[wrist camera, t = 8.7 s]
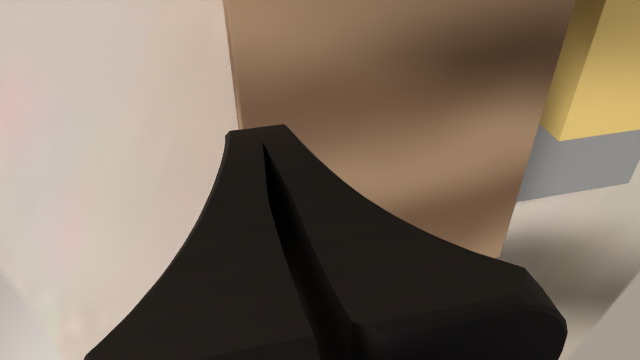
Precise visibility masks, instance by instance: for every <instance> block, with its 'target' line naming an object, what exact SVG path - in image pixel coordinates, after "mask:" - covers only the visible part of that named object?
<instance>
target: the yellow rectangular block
mask: <svg viewBox="0 0 640 360" xmlns="http://www.w3.org/2000/svg"><path fill="white" fill-rule="evenodd" d="M539 124H540V125H541V126H543V127H544V128H545V129H546V130H547V131H548V132H549V133H550V134H551V135H553V136H554V137H555V138H556V139H557V140H558V141H564V140H571V139H578V138H585V137H591V136H598V135H605V134H612V133H619V132H625V131H632V130H639V129H640V0H576V2H575V5H574V8H573V12H572V15H571V19H570V22H569V25H568V29H567V32H566V35H565V39H564V42H563V45H562V49H561V52H560V55H559V59H558V62H557V66H556V69H555V72H554V76H553V79H552V82H551V86H550V89H549V92H548V96H547V99H546V102H545V106H544V109H543V113H542V116H541V119H540V123H539Z"/></svg>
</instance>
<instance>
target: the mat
mask: <svg viewBox="0 0 640 360" xmlns="http://www.w3.org/2000/svg"><path fill="white" fill-rule="evenodd" d="M639 159H640V129H639V130H632V131H625V132H619V133H612V134H605V135H598V136H591V137H585V138H578V139H571V140H564V141H558V140H557V139H556V138H555V137H554V136H553V135H551V134H550V133H549V132H548V131H547V130H546V129H545V128H544V127H543V126H541V125H540V124H539V126H538V129H537V133H536V136H535V139H534V143H533V146H532V149H531V153H530V156H529V160H528V163H527V166H526V170H525V173H524V176H523V180H522V183H521V186H520V190H519V193H518V197H517V200H516V202H519V201H525V200H531V199H537V198H543V197H549V196H554V195H560V194H566V193H572V192H578V191H584V190H590V189H596V188H602V187H608V186H614V185H620V184H626V183H629V181H630V179H631V176H632V174H633V172H634V170H635V168H636V166H637V163H638V161H639Z"/></svg>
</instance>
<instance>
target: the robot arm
mask: <svg viewBox="0 0 640 360" xmlns="http://www.w3.org/2000/svg"><path fill="white" fill-rule="evenodd" d="M567 333H568V331H567V325H566V320H565V319H564V317H563V316H562V315H561V313H560V312H559V311H558V309H557V308H556V307H555V305H554V304H553V303H552V301H551V300H550V298H549V297H548V295H547V294H546V293H545V291H544V290H543V289H542V287H541V286H540V285H539V284H538V283H537V282H536V281H535V279H534V278H533V277H532V276H531V275H530V274H529V273H528V271H527V270H526V269H525V268H523V267H520V266H517V265H514V264H510V263H507V262H504V261H501V260H498V259H495V258H492V257H489V256H486V255H482V254H479V253H476V252H473V251H471V250H468V249H466V248H463V247H461V246H458V245H456V244H453V243H451V242H448V241H446V240H443V239H441V238H439V237H437V236H434V235H432V234H430V233H428V232H425V231H423V230H421V229H419V228H418V227H416V226H414V225H412V224H410V223H408V222H406V221H404V220H402V219H400V218H398V217H396V216H395V215H393V214H391V213H389V212H388V211H386V210H384V209H383V208H381V207H380V206H378V205H377V204H375V203H373V202H372V201H370V200H369V199H367V198H366V197H364V196H363V195H361V194H360V193H359V192H357V191H356V190H355V189H353V188H352V187H351V186H349V185H348V184H347V183H346V182H344V181H343V180H342V179H341V178H340V177H338V176H337V175H336V174H335V173H334V172H332V171H331V170H330V169H329V168H328V167H327V166H326V165H325V164H324V163H323V162H321V161H320V160H319V159H318V158H317V157H316V156H315V155H314V154H313V153H312V152H311V151H310V150H309V149H308V148H307V147H306V146H305V145H304V144H303V143H302V142H301V141H300V140H299V139H298V138H297V136H296V135H295V134H294V133H293V132H292V131H291V130H290V129H289V128H288V127H287V126H286V125H285V124H280V125H272V126H265V127H257V128H249V129H241V130H233V131H229V132H228V134H227V135H226V136H225V148H224V153H223V157H222V161H221V165H220V168H219V171H218V174H217V177H216V180H215V182H214V185H213V188H212V190H211V192H210V195H209V197H208V199H207V201H206V204H205V206H204V208H203V210H202V212H201V214H200V216H199V218H198V220H197V222H196V224H195V226H194V227H193V229H192V231H191V233H190V234H189V236H188V238H187V239H186V241H185V243H184V244H183V246H182V247H181V249H180V250H179V252H178V253H177V255H176V256H175V258H174V259H173V260H172V262H171V263H170V265H169V266H168V268H167V269H166V270H165V272H164V273H163V274H162V276H161V277H160V278H159V279H158V281H157V282H156V283H155V284H154V285H153V286H152V288H151V289H150V290H149V291H148V292H147V294H146V295H145V296H144V297H143V298H142V299H141V301H140V302H139V303H138V304H137V305H136V306H135V308H134V309H133V310H132V311H131V312H130V313H129V314H128V315H127V316H126V317H125V318H124V319H123V320H122V321H121V322H120V323H119V324H118V325H117V326H116V327H115V328H114V329H113V330H112V331H111V332H110V333H109V334H108V335H107V336H106V337H105V338H104V339H103V340H102V341H101V342H100V343H99V344H98V345H97V346H96V347H94V348H93V349H92V350H91V351H90V352H89V353H88V354H87V355H86V356H85V358H84V360H558V359H559V357H560V355H561V352H562V350H563V347H564V344H565V340H566V337H567Z"/></svg>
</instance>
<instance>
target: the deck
mask: <svg viewBox="0 0 640 360" xmlns="http://www.w3.org/2000/svg"><path fill="white" fill-rule="evenodd" d="M575 2H576V0H223V5H224V13H225V21H226V29H227V37H228V45H229V54H230V62H231V70H232V78H233V86H234V94H235V102H236V110H237V118H238V126H239V130H241V129H249V128H257V127H265V126H272V125H280V124H285V125H286V126H287V127H288V128H289V129H290V130H291V131H292V132H293V133H294V134H295V135H296V136H297V138H298V139H299V140H300V141H301V142H302V143H303V144H304V145H305V146H306V147H307V148H308V149H309V150H310V151H311V152H312V153H313V154H314V155H315V156H316V157H317V158H318V159H319V160H320V161H321V162H323V163H324V164H325V165H326V166H327V167H328V168H329V169H330V170H331V171H332V172H334V173H335V174H336V175H337V176H338V177H340V178H341V179H342V180H343V181H344V182H346V183H347V184H348V185H349V186H351V187H352V188H353V189H355V190H356V191H357V192H359V193H360V194H361V195H363V196H364V197H366V198H367V199H369V200H370V201H372V202H373V203H375V204H377V205H378V206H380V207H381V208H383V209H384V210H386V211H388V212H389V213H391V214H393V215H395V216H396V217H398V218H400V219H402V220H404V221H406V222H408V223H410V224H412V225H414V226H416V227H418V228H419V229H421V230H423V231H425V232H428V233H430V234H432V235H434V236H437V237H439V238H441V239H443V240H446V241H448V242H451V243H453V244H456V245H458V246H461V247H463V248H466V249H468V250H471V251H473V252H476V253H479V254H482V255H486V256H489V257H492V258H497V257H500V254H501V250H502V247H503V244H504V240H505V237H506V233H507V230H508V227H509V223H510V220H511V217H512V213H513V210H514V207H515V203H516V200H517V197H518V193H519V190H520V186H521V183H522V180H523V176H524V173H525V170H526V166H527V163H528V160H529V156H530V153H531V149H532V146H533V143H534V139H535V136H536V133H537V129H538V126H539V123H540V119H541V116H542V113H543V109H544V106H545V102H546V99H547V96H548V92H549V89H550V86H551V82H552V79H553V76H554V72H555V69H556V66H557V62H558V59H559V55H560V52H561V49H562V45H563V42H564V39H565V35H566V32H567V29H568V25H569V22H570V19H571V15H572V12H573V8H574V5H575Z"/></svg>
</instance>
